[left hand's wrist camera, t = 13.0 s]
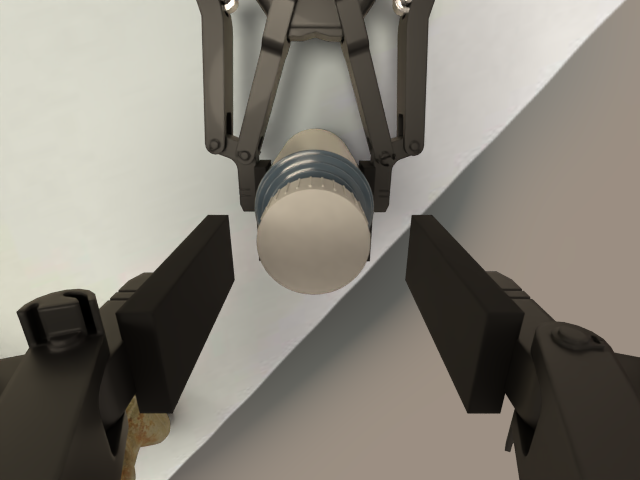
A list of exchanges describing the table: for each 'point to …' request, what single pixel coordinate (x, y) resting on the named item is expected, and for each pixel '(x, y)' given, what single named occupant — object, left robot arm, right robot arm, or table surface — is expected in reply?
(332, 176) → the bottle
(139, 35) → the table surface
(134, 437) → the sculpture
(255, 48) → the table surface
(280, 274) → the cap
